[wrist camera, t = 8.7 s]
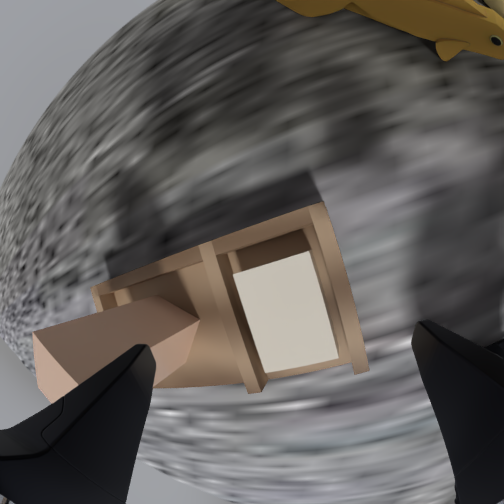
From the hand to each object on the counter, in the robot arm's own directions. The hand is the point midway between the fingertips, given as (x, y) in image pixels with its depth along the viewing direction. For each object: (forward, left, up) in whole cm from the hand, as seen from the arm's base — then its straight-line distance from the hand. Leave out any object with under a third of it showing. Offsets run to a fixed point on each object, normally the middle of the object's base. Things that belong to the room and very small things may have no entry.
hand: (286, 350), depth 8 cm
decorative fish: (+19, -14, -12) cm, 27 cm away
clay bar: (0, +12, -10) cm, 16 cm away
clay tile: (-1, +2, -10) cm, 10 cm away
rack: (0, +8, -11) cm, 14 cm away
